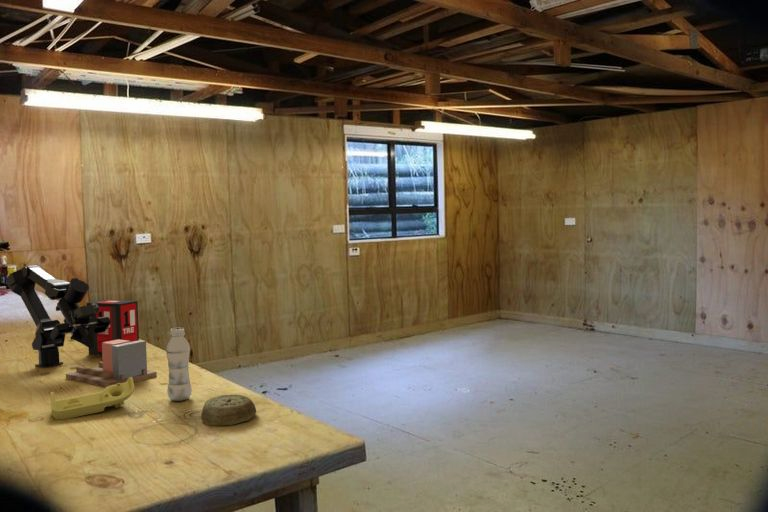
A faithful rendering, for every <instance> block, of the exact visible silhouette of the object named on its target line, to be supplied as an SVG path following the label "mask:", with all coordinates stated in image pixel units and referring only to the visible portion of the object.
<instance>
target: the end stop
mask: <svg viewBox="0 0 768 512" xmlns="http://www.w3.org/2000/svg"><path fill="white" fill-rule="evenodd" d="M147 353H148V352H147V341H146V340H140V339H139V340H138V341H133V342H128V343H123V344H118V345H113V346H112V363H113V380H118V381H120V380H121V375H125V379H128V378H130V377H136V376H139V375H143V370H145V369H147V370H148V359H147Z"/></svg>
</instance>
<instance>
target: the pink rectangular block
mask: <svg viewBox="0 0 768 512" xmlns="http://www.w3.org/2000/svg"><path fill="white" fill-rule="evenodd" d="M128 342H130V341H127V340H120V339H118V340H113V341H108V342H103V343H102V357H101V358H102V362H103V371H107V372H112V373H113V363H112V346H113V345H118V344H123V343H128Z"/></svg>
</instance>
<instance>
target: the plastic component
mask: <svg viewBox="0 0 768 512" xmlns="http://www.w3.org/2000/svg"><path fill="white" fill-rule="evenodd" d="M134 383H135V382H133V378H132V377H130V378H128V379H127V381H126V382H125V383H117V384H115V385H110V386H108V387H104V389H102V390H101V391H97V392H93V393H87V394H82V395H77V396H72V397H68V398H67V397H66V398H62V399H56V398H55V392H54V391H51V392H50V409H51V414H52V417H53V418H54V419H55V420H59V419H60V420H66V419H72V418H73V419H74V418H78V417H81V416H83V417H84V416H87V415H93V414H98V413H102V412H104V411H105V410H106V409H105V408H106V407H111V408H116V409H117V408H122V406H124V405H125V401H127V400H128V399H129V398H130V397H131V395H133V392H134V390H135V384H134Z"/></svg>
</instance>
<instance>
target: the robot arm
mask: <svg viewBox="0 0 768 512" xmlns="http://www.w3.org/2000/svg"><path fill="white" fill-rule="evenodd" d="M5 281H6V285H7V286H8V288H9V289H10V290H11V292H12V293H14V294H16V295H17V296H19V297H20V298H21V300H22V302H23V304H24V305H25V307H26V309H27V311H28V313H29V314H30V317H31V318H32V321H33V322H34V324H35V326H36V328H35V333H34V335H35V337H34V338H33V341H32V343H31V347H32V350H34V351H38V363H37V364H34V366H35V367H39V368H40V367H41V368H50V367H55V366H59V365H62V364H64V362H63V361H60V351H59V350H60V349H59V348H60V347H64V344H65V341H66V335H67V334H70V338H69V339H70V340H71V341H76V342H78V343H80V344H81V345H84V346H86V347H87V348H88V347H89V348H91V349H92V348H94V337H93V332H94V333H102V332H105V331H106V329H107V328H108V326H109V325H110V323H111V320H110V319H109V317H100V318H97V319H96V321H95V322H93V323H89V321H91V319H92V318H91V316H93V315H95V314H96V313H97V312H99V310H100V309H99V306H98V305H97V304H96V303H93V304H91V305H88V306H87V305H82V306H80V305H79V303H81V302H82V301H83V300H84V298H85V296H86V295H87V293H88V291H89V290H90V286H89V285H88V283H86V282H85V281H83V280H81V279H79V277H73V278H71V279H70V281H67V280H63V279H57V278H55V277H54V276H53V275H51V274H49V273H48V272H47V271H45V270H44V269H42V268H41V266H40V265H37V264H36V265H35V264H34V265H33V264H32V265H26V266H23V267H22V268H20V269H18V270H16V271H13V272H11V273H9V275H8V276H7V277H6V279H5ZM36 285H38V286H40V287H41V288H42V289H44V294H45V295H46V297H48V298H49V300H51V301H57V300H58V302H57V304H56V307H55V312H58V311H59V312H60V313H61V315H62V316H63V318H64V319H63V323H61V321H60V320H59V319H52V318H51V317H50V315H49V313H48V311H47V309H45V308H46V307H44V305H43V302H42V300H41V299H40V297H39V295H38V293H37V292H36V290H35V288H36ZM89 348H88V349H89Z"/></svg>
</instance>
